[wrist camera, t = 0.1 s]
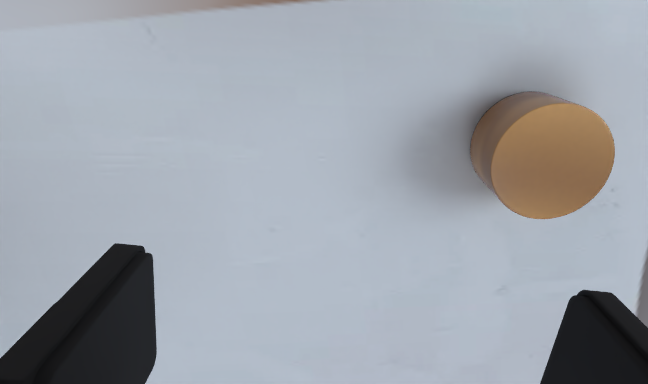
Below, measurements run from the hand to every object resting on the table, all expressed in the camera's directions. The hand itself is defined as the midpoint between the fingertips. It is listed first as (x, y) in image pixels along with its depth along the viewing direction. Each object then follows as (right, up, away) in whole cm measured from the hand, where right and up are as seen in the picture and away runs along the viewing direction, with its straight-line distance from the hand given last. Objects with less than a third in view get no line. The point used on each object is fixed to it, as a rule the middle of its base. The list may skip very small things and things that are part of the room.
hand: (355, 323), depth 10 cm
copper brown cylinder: (+9, +5, +12) cm, 16 cm away
